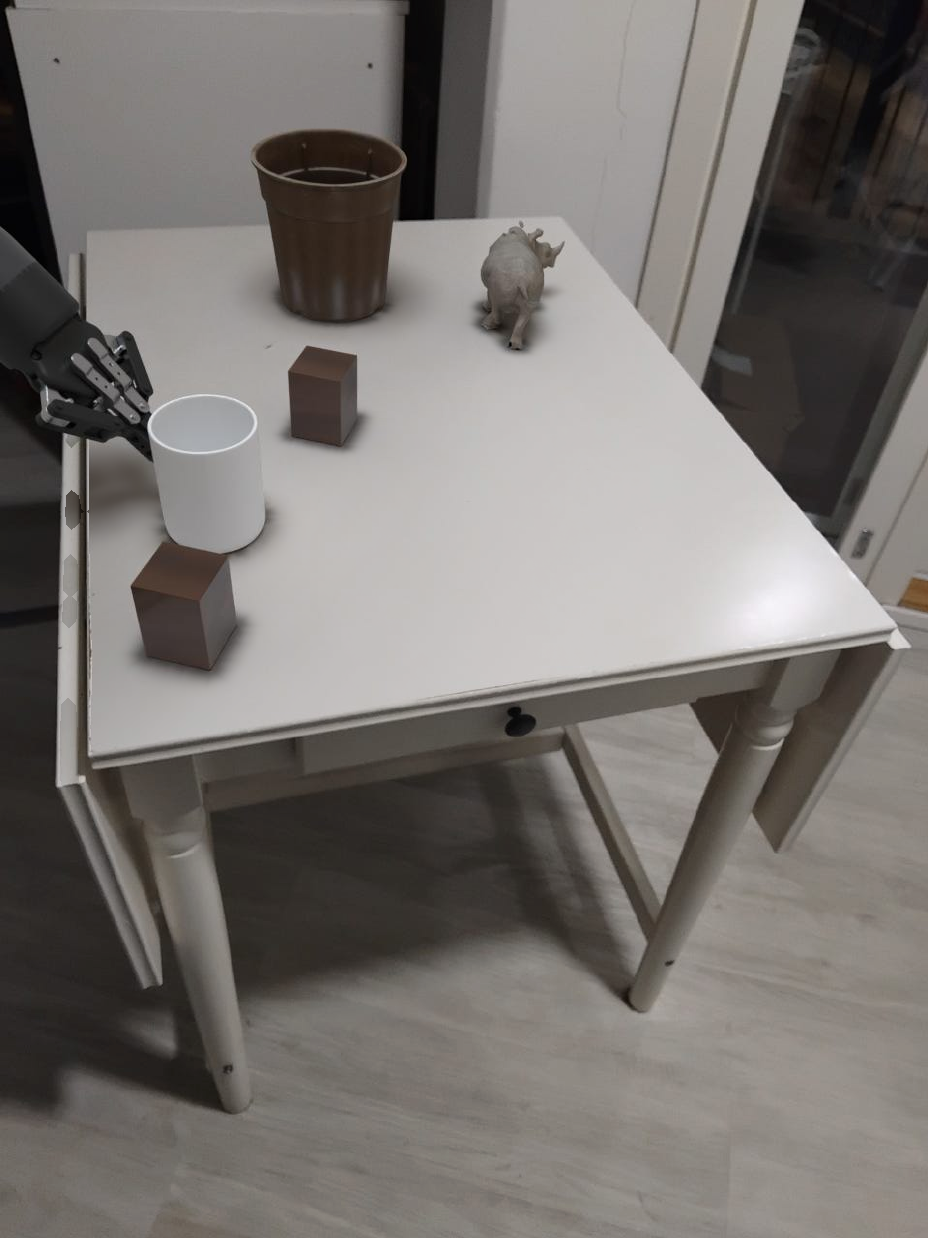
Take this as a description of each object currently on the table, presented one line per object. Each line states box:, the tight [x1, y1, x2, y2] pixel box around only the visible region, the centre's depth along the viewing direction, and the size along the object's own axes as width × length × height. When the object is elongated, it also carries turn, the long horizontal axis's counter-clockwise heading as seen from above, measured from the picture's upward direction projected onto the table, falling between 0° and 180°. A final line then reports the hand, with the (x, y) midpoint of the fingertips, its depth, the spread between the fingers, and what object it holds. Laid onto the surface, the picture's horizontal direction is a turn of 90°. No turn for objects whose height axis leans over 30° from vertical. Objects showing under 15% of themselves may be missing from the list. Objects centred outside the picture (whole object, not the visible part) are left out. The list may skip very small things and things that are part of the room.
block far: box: [287, 345, 358, 447], centre depth 89 cm, size 5×5×7 cm
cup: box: [147, 393, 266, 554], centre depth 78 cm, size 8×12×10 cm
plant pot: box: [250, 128, 408, 323], centre depth 105 cm, size 16×16×16 cm
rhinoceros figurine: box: [480, 220, 566, 351], centre depth 108 cm, size 8×14×15 cm
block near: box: [130, 540, 238, 671], centre depth 68 cm, size 5×5×7 cm
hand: (170, 456), depth 79 cm, fingers closed
